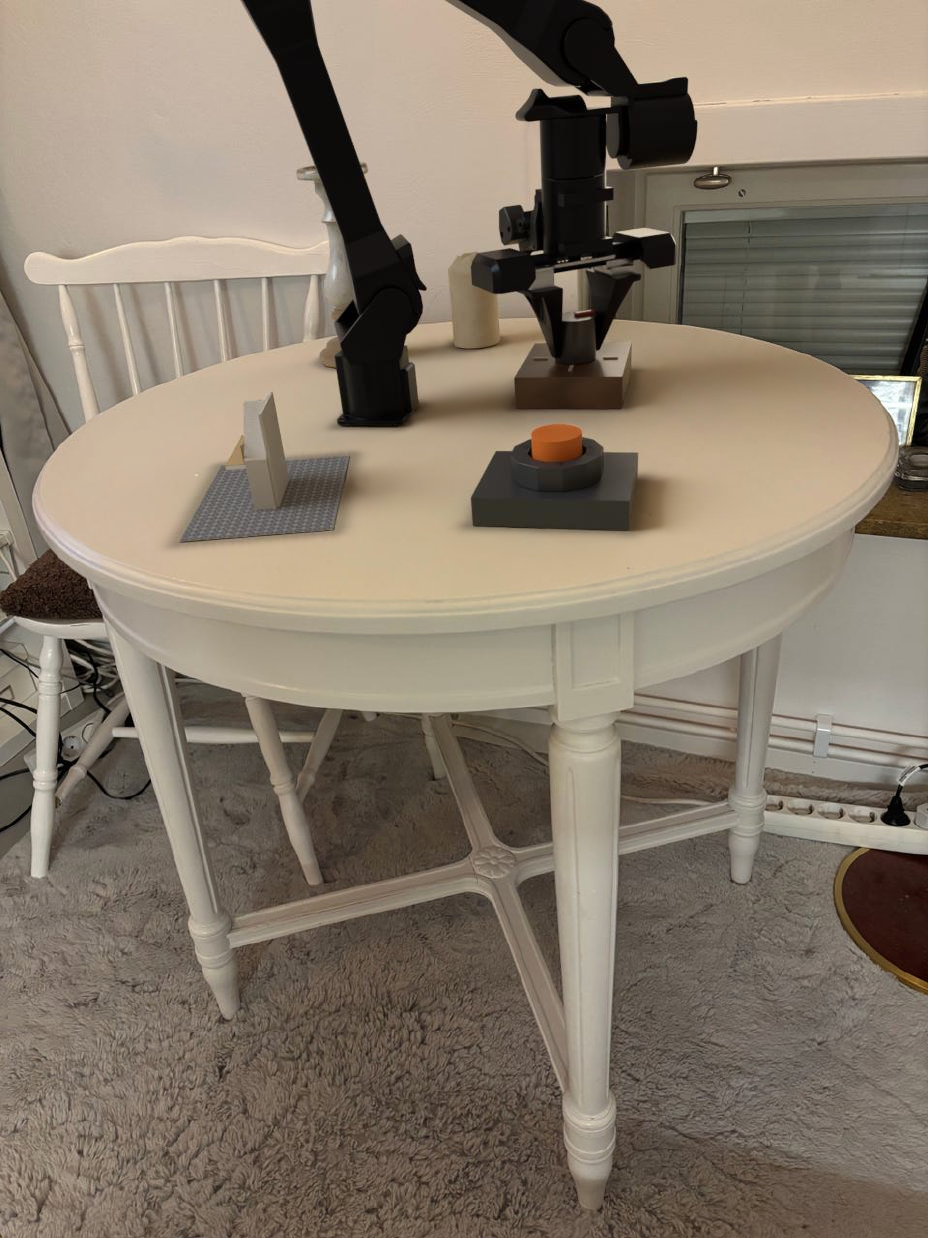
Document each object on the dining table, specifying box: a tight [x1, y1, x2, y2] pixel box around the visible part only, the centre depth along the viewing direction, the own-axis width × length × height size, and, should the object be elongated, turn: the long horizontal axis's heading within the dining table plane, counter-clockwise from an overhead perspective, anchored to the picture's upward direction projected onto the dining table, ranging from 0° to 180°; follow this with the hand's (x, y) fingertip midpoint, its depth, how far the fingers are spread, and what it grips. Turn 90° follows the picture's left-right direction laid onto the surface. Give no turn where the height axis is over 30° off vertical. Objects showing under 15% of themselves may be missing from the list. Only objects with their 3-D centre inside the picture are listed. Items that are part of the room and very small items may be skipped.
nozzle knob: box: [555, 308, 596, 364], centre depth 87 cm, size 4×4×4 cm
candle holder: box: [295, 161, 369, 369], centre depth 100 cm, size 9×9×20 cm
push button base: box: [470, 436, 639, 531], centre depth 66 cm, size 11×9×4 cm
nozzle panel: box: [513, 341, 633, 410], centre depth 89 cm, size 10×12×3 cm
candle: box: [447, 251, 501, 349], centre depth 105 cm, size 6×6×10 cm
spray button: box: [530, 423, 583, 462], centre depth 65 cm, size 4×4×2 cm
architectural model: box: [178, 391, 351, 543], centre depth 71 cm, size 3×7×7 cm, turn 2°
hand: (575, 353), depth 88 cm, fingers closed on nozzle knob, 4 cm apart
